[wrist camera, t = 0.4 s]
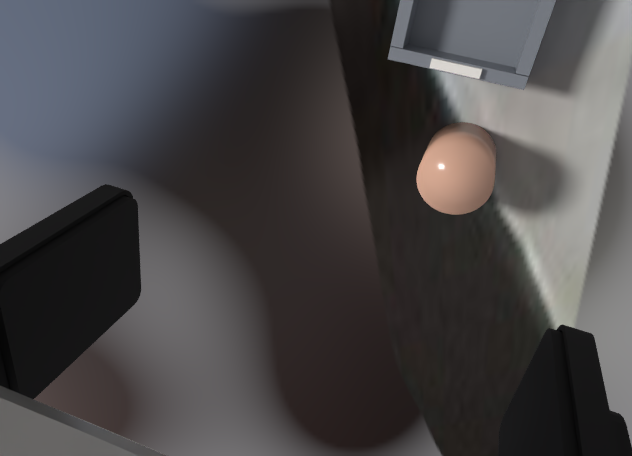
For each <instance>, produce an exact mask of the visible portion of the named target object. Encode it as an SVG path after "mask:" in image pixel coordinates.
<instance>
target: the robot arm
mask: <svg viewBox="0 0 632 456" xmlns="http://www.w3.org/2000/svg"><path fill="white" fill-rule="evenodd" d="M138 228H139V227H138V205H137V202H136V200H135V199H133V196H132V194H131V193H130V192H129V191H127V190H124V189H121V188H118V187H114V186H111V185H106V184H105V185H103V186H100V187H99V188H97V189H95V190H94V191H92V192H90V193H88V194H87V195H85V196H83V197H82V198H80V199H78V200H76V201H74V202H73V203H71V204H69V205H68V206H66V207H64V208H62V209H61V210H59V211H57V212H55V213H54V214H52V215H50V216H49V217H47V218H45V219H43V220H42V221H40V222H38V223H36V224H35V225H33V226H31V227H30V228H28V229H26V230H24V231H23V232H21V233H19V234H17V235H16V236H14V237H12V238H10V239H9V240H7V241H5V242H4V243H2V244H0V456H167V455H165V454H162V453H160V452H157V451H155V450H153V449H150V448H148V447H146V446H143V445H141V444H139V443H136V442H134V441H132V440H129V439H127V438H124V437H122V436H120V435H117V434H115V433H113V432H110V431H108V430H105V429H103V428H101V427H98V426H96V425H93V424H91V423H89V422H86V421H84V420H82V419H79V418H77V417H74V416H72V415H69V414H67V413H65V412H62V411H59V410H57V409H55V408H53V407H50V406H48V405H45V404H43V403H40V402H38V401H36V400H33V399H34V398H35V397H36V396H37V395H39V394H40V393H41V392H42V391H43V390H44V389H45V388H46V387H47V386H48V385H49V384H50V383H51V382H52V381H53V380H55V378H57V377H58V376H59V375H60V374H61V373H62V372H63V371H64V370H65V369H66V368H67V367H68V366H69V365H70V364H72V363H73V362H74V361H75V360H76V359H77V358H78V357H79V356H80V355H81V354H82V353H83V352H84V351H85V350H86V349H88V347H90V346H91V345H92V344H93V343H94V342H95V341H96V340H97V339H98V338H99V337H100V336H101V335H102V334H103V333H105V332H106V331H107V330H108V329H109V328H110V327H111V326H112V325H113V324H114V323H115V322H116V321H117V320H118V319H119V318H120V317H122V316H123V315H124V314H125V313H126V312H127V311H128V310H129V309H130V308H131V307H132V306H133V305H134V304H135V303H136V302H137V300H138V298H139V296H140V292H141V278H140V253H139V229H138ZM498 456H632V447H631V443H630V439H629V435H628V430H627V426H626V423H625V420H624V418H623V417H622V416H621V415H620V414H619V413H616V412H612V411H610V410H609V406H608V401H607V396H606V391H605V386H604V382H603V377H602V372H601V367H600V363H599V358H598V353H597V348H596V343H595V339H594V336H593V335H592V334H591V333H588V332H584V331H581V330H578V329H575V328H572V327H568V326H565V325H560V326H559V327H558V329H557V330H553V329H550V328H549V329H547V330H546V332H545V334H544V336H543V338H542V340H541V342H540V344H539V346H538V348H537V350H536V352H535V354H534V356H533V358H532V360H531V362H530V364H529V366H528V368H527V370H526V372H525V374H524V376H523V378H522V380H521V382H520V384H519V386H518V388H517V390H516V392H515V394H514V396H513V398H512V400H511V402H510V404H509V406H508V408H507V410H506V412H505V414H504V416H503V419H502V422H501V425H500V430H499V449H498Z"/></svg>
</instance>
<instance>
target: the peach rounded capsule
mask: <svg viewBox="0 0 632 456" xmlns="http://www.w3.org/2000/svg"><path fill="white" fill-rule="evenodd" d="M496 156H497V155H496V146H495V143H494V141H493V139H492V138H491V136H490V135H489V134H488V133H487V132H486V131H485V130H484V129H482V128H481V127H479V126H477V125H474V124H471V123H465V122H460V123H453V124H450V125H447V126H445V127H443V128H442V129H440V130H439V131H438V132H437V133H436V134H435V135H434V136H433V137H432V139H431V141H430V143H429V145H428V147H427V149H426V152H425V154H424V156H423V159H422V161H421V163H420V166H419V169H418V172H417V186H418V190H419V192H420V194H421V196H422V198H423V199H424V200H425V201H426V202H427V203H428V204H429V205H430V206H431V207H433V208H434V209H436V210H438V211H440V212H443V213H447V214H454V215H458V214H465V213H469V212H472V211H474V210H476V209H478V208H479V207H481V206H482V205H483V204H484V203H485V202H486V201H487V200H488V199H489V197H490V195H491V193H492V191H493V188H494V182H495V169H496Z"/></svg>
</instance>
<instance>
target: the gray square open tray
mask: <svg viewBox="0 0 632 456" xmlns="http://www.w3.org/2000/svg"><path fill="white" fill-rule="evenodd" d="M555 2H556V0H400V5H399V9H398V14H397V19H396V23H395V28H394V33H393V37H392V42H391V47H390V51H389V56H388V59H390V60H394V61H399V62H403V63H407V64H412V65H416V66H421V67H425V68H430V69H434V70H438V71H443V72H447V73H452V74H456V75H461V76H465V77H469V78H474V79H478V80H483V81H487V82H492V83H496V84H500V85H505V86H509V87H514V88H518V89H523V90H524V89H525V86H526V83H527V80H528V77H529V75H530V72H531V69H532V66H533V63H534V61H535V58H536V55H537V52H538V49H539V47H540V44H541V41H542V38H543V35H544V33H545V30H546V27H547V24H548V22H549V19H550V16H551V13H552V10H553V8H554V5H555Z"/></svg>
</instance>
